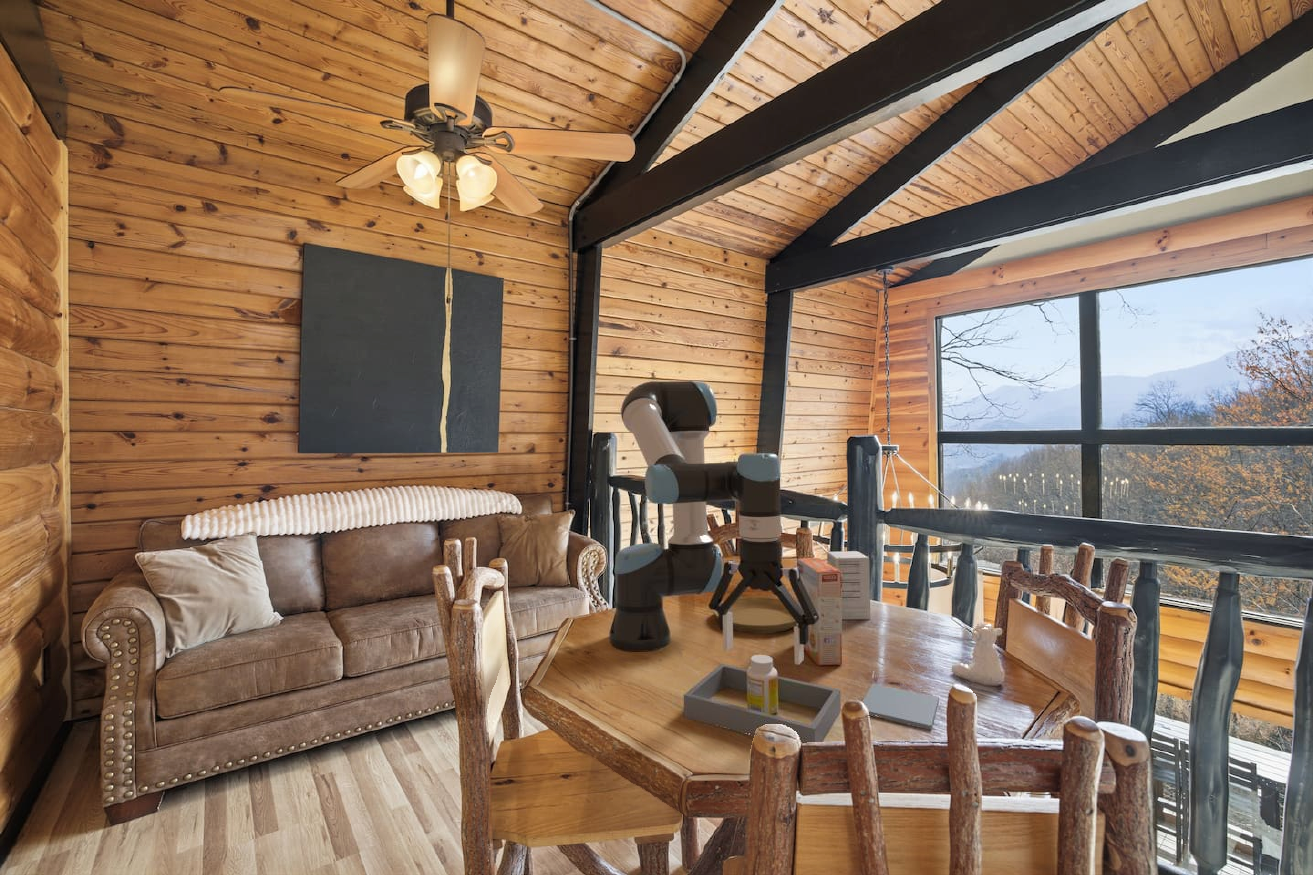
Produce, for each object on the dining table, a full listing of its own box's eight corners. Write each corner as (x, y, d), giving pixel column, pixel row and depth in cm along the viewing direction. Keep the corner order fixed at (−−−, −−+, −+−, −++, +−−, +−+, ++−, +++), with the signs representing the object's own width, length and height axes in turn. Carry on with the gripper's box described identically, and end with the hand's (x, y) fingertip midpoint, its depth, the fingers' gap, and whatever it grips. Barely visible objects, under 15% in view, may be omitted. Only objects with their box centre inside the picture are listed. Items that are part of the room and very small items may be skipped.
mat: (858, 713, 105) (858, 708, 105) (872, 687, 115) (872, 683, 115) (931, 730, 98) (931, 725, 98) (938, 701, 109) (938, 697, 109)
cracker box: (844, 665, 126) (842, 570, 126) (817, 667, 125) (815, 571, 125) (821, 642, 140) (820, 556, 140) (797, 643, 139) (796, 557, 139)
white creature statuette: (990, 669, 123) (990, 613, 123) (1021, 687, 114) (1021, 627, 114) (949, 672, 121) (949, 616, 121) (978, 691, 113) (977, 630, 113)
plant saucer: (721, 639, 144) (721, 626, 144) (707, 609, 168) (707, 598, 168) (816, 635, 145) (816, 622, 145) (789, 606, 169) (789, 595, 169)
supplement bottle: (774, 706, 108) (774, 652, 108) (781, 721, 102) (780, 664, 102) (745, 707, 108) (744, 652, 108) (749, 722, 102) (748, 664, 102)
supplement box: (871, 619, 155) (870, 557, 155) (837, 620, 156) (836, 558, 155) (859, 608, 165) (858, 550, 165) (827, 609, 165) (826, 550, 165)
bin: (683, 716, 105) (683, 694, 104) (721, 683, 118) (721, 663, 118) (815, 753, 92) (815, 729, 92) (840, 711, 106) (840, 689, 105)
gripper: (689, 536, 108) (692, 649, 108) (823, 546, 95) (825, 675, 95) (707, 530, 114) (710, 637, 114) (835, 539, 101) (837, 660, 101)
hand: (762, 654), depth 105 cm, fingers open, 13 cm apart
